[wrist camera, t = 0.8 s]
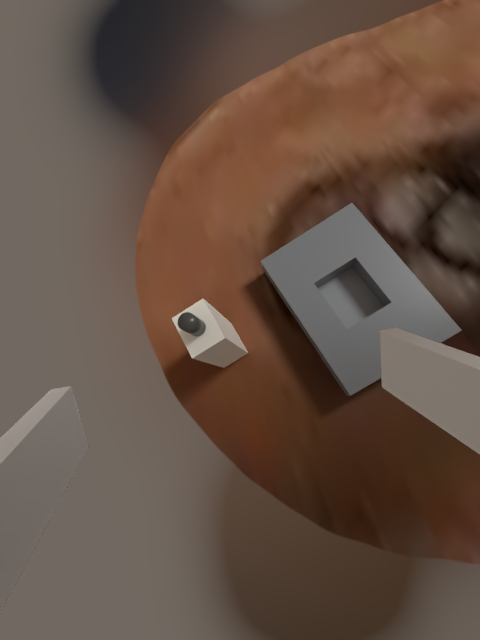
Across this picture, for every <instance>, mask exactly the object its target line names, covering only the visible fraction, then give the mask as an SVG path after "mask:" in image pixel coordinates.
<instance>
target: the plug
mask: <svg viewBox="0 0 480 640" xmlns="http://www.w3.org/2000/svg"><path fill="white" fill-rule="evenodd" d="M172 320H173V322H174V324H175V326H176V328H177V330H178V332H179V334H180V336H181V338H182V340H183V342H184V344H185V346H186V348H187V350H188V351H189V353H190V355H191V357H192V359H195V360H199V361H202V362H205V363H209V364H212V365H216V366H219V367H222V368H225V367H226V366H228V365H230V364H231V363H233V362H235V361H236V360H238V359H239V358H241V357H243V356H244V355H246V354H248V351H247V350H246V348H245V346H244V344H243V343H242V341H241V339H240V338H239V336H238V334H237V332H236V331H235V329H234V327H233V326H232V324H231V323H230V322H229V321H228V320H227V319H226V318H225V317H223V316H222V315H221V314H220V313H219V312H218V311H217V310H216V309H214V308H213V307H212V306H211V305H210V304H209V303H208V302H206V301H205V300H204V299H201V300H200V301H198V302H197V303H195V304H194V305H192V306H190V307H189V308H187V309H186V310H184V311H183V312H181V313H179V314H178V315H176V316H175V317H173V318H172Z"/></svg>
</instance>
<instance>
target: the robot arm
mask: <svg viewBox="0 0 480 640" xmlns="http://www.w3.org/2000/svg"><path fill="white" fill-rule="evenodd" d="M380 345H381V380H382V388H384V389H385V390H387V391H388V392H389V393H391V394H392V395H394V396H395V397H397V398H398V399H400V400H401V401H403V402H404V403H405V404H407V405H408V406H410V407H411V408H413V409H414V410H416V411H417V412H419V413H420V414H421V415H423V416H424V417H426V418H427V419H429V420H430V421H432V422H433V423H435V424H436V425H437V426H439V427H440V428H442V429H443V430H445V431H446V432H448V433H449V434H451V435H452V436H453V437H455V438H456V439H458V440H459V441H461V442H462V443H464V444H465V445H467V446H468V447H469V448H471V449H472V450H474V451H475V452H477V453H478V454H480V357H478V356H475V355H472V354H469V353H467V352H464V351H461V350H458V349H455V348H452V347H449V346H447V345H444V344H441V343H438V342H435V341H432V340H430V339H427V338H424V337H421V336H418V335H415V334H412V333H410V332H407V331H404V330H401V329H398V328H391V329H386V330H380ZM87 449H88V444H87V440H86V437H85V433H84V429H83V426H82V423H81V419H80V415H79V411H78V408H77V404H76V401H75V397H74V393H73V390H72V386H69V387H63V388H57V389H52V390H50V391H49V392H48V393H47V394H46V395H45V396H44V397H43V398H42V399H41V400H40V401H39V402H37V403H36V404H35V405H34V406H33V407H32V408H31V409H30V410H29V411H28V412H27V413H26V414H25V415H24V416H23V417H22V418H21V419H20V420H19V421H18V422H17V423H16V424H15V425H14V426H13V427H12V428H10V430H8V431H7V432H6V433H5V434H4V435H3V436H2V437H1V438H0V613H1V611H2V609H3V607H4V605H5V604H6V602H7V600H8V598H9V596H10V594H11V592H12V590H13V589H14V587H15V585H16V583H17V581H18V579H19V577H20V575H21V573H22V571H23V569H24V568H25V566H26V564H27V562H28V560H29V558H30V556H31V554H32V553H33V551H34V549H35V547H36V545H37V543H38V541H39V540H40V538H41V536H42V534H43V532H44V530H45V528H46V526H47V524H48V523H49V521H50V519H51V517H52V515H53V513H54V511H55V509H56V508H57V506H58V504H59V501H60V500H61V498H62V496H63V494H64V492H65V491H66V488H67V487H68V485H69V483H70V481H71V479H72V477H73V475H74V473H75V472H76V470H77V468H78V466H79V464H80V462H81V460H82V459H83V457H84V455H85V453H86V451H87Z"/></svg>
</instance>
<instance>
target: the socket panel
mask: <svg viewBox="0 0 480 640" xmlns="http://www.w3.org/2000/svg"><path fill="white" fill-rule="evenodd" d="M260 262H261V264H262V267H263V270H264V272H265V274H266V275H267V277H268V278H269V280H270V281H271V283H272V284H273V286H274V287H275V289H276V290H277V292H278V293H279V295H280V296H281V298H282V299H283V301H284V303H285V304H286V306H287V307H288V309H289V310H290V312H291V313H292V315H293V316H294V318H295V319H296V321H297V322H298V324H299V325H300V327H301V328H302V330H303V331H304V333H305V334H306V336H307V337H308V339H309V340H310V342H311V343H312V345H313V346H314V348H315V349H316V351H317V352H318V354H319V355H320V357H321V358H322V360H323V361H324V363H325V364H326V366H327V367H328V369H329V370H330V372H331V373H332V375H333V376H334V378H335V379H336V381H337V382H338V384H339V385H340V387H341V388H342V390H343V391H344V393H345V394H346V396H351V395H353V394H354V393H356V392H358V391H360V390H361V389H363V388H365V387H366V386H368V385H370V384H371V383H373V382H375V381H377V380H378V379H380V378H381V345H380V330H386V329H391V328H398V329H401V330H404V331H407V332H410V333H412V334H415V335H418V336H421V337H424V338H427V339H430V340H432V341H435V342H438V343H441V342H443V341H445V340H446V339H448V338H450V337H451V336H453V335H455V334H456V333H458V332H460V331H462V330H461V329H460V328H459V326H458V325H457V324H456V323H455V322H454V321H453V319H452V318H451V317H450V316H449V315H448V314H447V312H446V311H445V310H444V309H443V308H442V307H441V305H440V304H439V303H438V302H437V301H436V300H435V298H434V297H433V296H432V295H431V294H430V293H429V291H428V290H427V289H426V288H425V287H424V286H423V285H422V283H421V282H420V281H419V280H418V279H417V278H416V276H415V275H414V274H413V273H412V272H411V271H410V269H409V268H408V267H407V266H406V265H405V264H404V262H403V261H402V260H401V259H400V258H399V257H398V255H397V254H396V253H395V252H394V251H393V250H392V248H391V247H390V246H389V245H388V244H387V243H386V241H385V240H384V239H383V238H382V237H381V236H380V235H379V233H378V232H377V231H376V230H375V229H374V228H373V226H372V225H371V224H370V223H369V222H368V221H367V219H366V218H365V217H364V216H363V215H362V214H361V212H360V211H359V210H358V209H357V208H356V207H355V205H354V204H353V203H351V204H349V205H348V206H346V207H345V208H343V209H341V210H340V211H338V212H337V213H335V214H334V215H332V216H330V217H329V218H327V219H326V220H324V221H323V222H321V223H319V224H318V225H316V226H315V227H313V228H312V229H310V230H308V231H307V232H305V233H304V234H302V235H301V236H299V237H297V238H296V239H294V240H293V241H291V242H290V243H288V244H287V245H285V246H283V247H282V248H280V249H279V250H277V251H276V252H274V253H272V254H271V255H269V256H268V257H266V258H265V259H263V260H261V261H260Z"/></svg>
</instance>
